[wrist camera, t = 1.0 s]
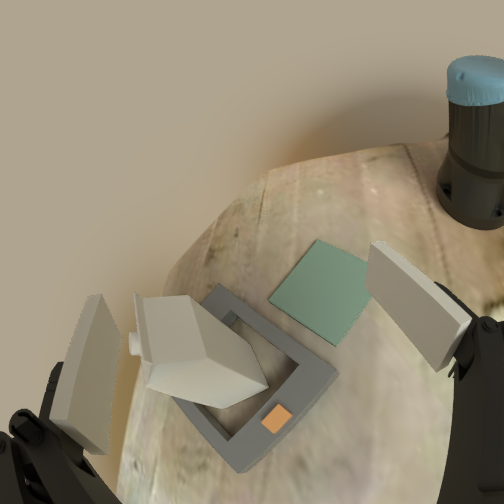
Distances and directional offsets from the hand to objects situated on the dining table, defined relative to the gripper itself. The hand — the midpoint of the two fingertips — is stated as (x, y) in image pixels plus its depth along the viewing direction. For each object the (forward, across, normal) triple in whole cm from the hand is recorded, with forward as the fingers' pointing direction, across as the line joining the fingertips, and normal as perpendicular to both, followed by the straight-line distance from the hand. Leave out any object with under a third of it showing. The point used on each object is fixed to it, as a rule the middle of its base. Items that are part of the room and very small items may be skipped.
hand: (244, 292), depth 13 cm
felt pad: (+18, +13, -16) cm, 27 cm away
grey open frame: (+13, -1, -24) cm, 27 cm away
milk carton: (+13, -1, -24) cm, 27 cm away
